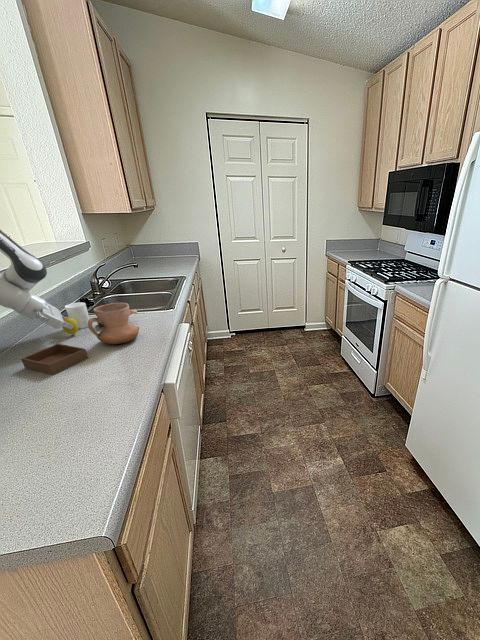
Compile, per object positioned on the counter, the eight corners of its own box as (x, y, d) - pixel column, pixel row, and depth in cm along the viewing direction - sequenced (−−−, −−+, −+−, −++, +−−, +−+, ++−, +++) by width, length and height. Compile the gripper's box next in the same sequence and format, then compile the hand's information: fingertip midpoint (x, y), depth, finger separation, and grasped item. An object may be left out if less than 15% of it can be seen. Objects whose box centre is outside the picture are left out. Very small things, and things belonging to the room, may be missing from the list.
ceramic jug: (139, 330, 144) (130, 298, 138) (147, 340, 134) (138, 307, 127) (92, 340, 135) (81, 306, 129) (96, 352, 125) (84, 317, 118)
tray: (25, 368, 114) (20, 358, 113) (61, 352, 125) (58, 343, 124) (53, 375, 110) (49, 365, 108) (88, 358, 121) (85, 348, 119)
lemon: (73, 332, 144) (66, 314, 140) (84, 333, 143) (77, 315, 139) (62, 337, 139) (55, 319, 135) (73, 338, 138) (67, 320, 134)
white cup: (70, 326, 150) (62, 305, 146) (89, 321, 155) (83, 301, 151) (74, 330, 145) (66, 309, 141) (94, 326, 150) (87, 304, 145)
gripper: (40, 307, 122) (79, 325, 132) (37, 295, 137) (72, 312, 146) (30, 321, 122) (70, 338, 132) (28, 308, 136) (64, 324, 146)
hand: (71, 325), depth 139 cm, fingers closed on lemon, 5 cm apart
